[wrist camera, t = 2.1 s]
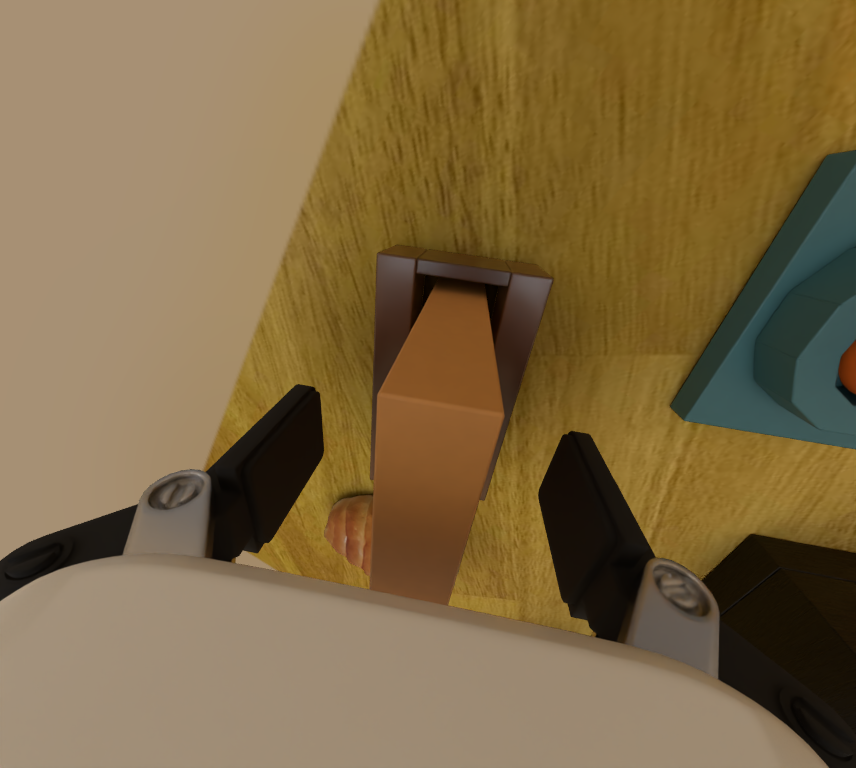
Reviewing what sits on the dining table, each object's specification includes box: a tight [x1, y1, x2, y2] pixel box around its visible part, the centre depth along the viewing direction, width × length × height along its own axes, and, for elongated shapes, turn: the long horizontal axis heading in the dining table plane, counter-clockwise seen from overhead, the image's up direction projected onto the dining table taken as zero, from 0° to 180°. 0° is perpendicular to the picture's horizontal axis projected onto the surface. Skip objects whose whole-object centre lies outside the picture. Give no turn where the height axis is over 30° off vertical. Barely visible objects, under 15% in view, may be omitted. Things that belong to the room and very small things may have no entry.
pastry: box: [324, 495, 460, 587], centre depth 20 cm, size 9×7×4 cm
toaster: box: [702, 535, 856, 734], centre depth 18 cm, size 15×11×10 cm
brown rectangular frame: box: [370, 245, 553, 500], centre depth 14 cm, size 11×6×3 cm, turn 173°
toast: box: [370, 277, 505, 606], centre depth 11 cm, size 9×2×10 cm, turn 173°
